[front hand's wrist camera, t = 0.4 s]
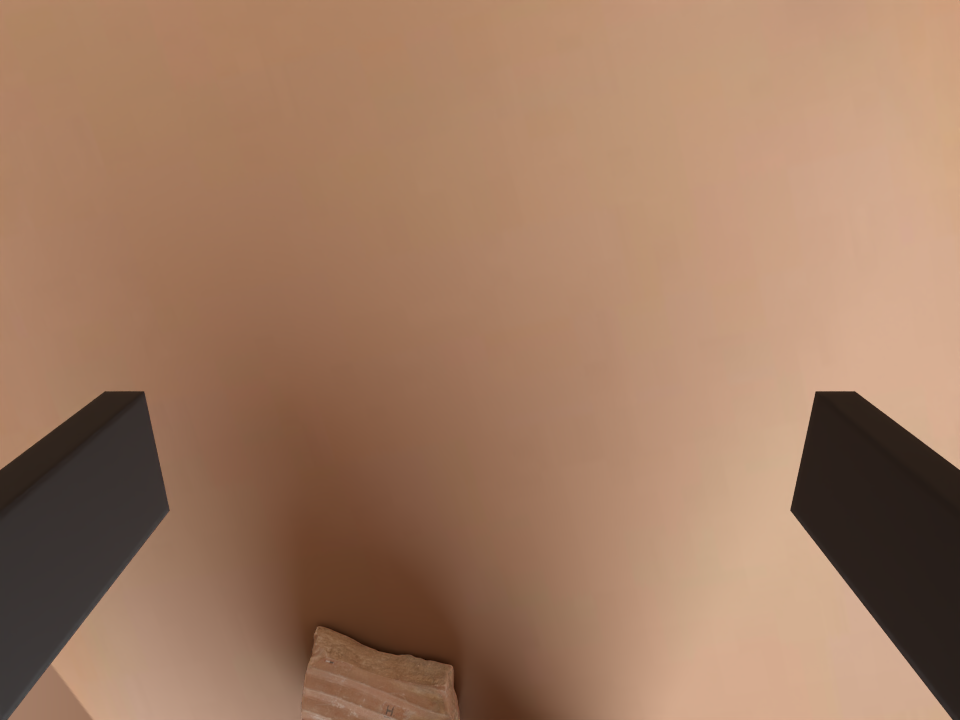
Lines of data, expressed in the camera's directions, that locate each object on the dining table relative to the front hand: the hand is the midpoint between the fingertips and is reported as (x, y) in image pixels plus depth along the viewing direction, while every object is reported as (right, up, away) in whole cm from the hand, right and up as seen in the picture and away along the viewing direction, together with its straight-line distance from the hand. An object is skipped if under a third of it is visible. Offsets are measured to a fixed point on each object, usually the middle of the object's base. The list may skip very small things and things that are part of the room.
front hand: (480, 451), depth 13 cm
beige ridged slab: (-8, -24, +39) cm, 47 cm away
